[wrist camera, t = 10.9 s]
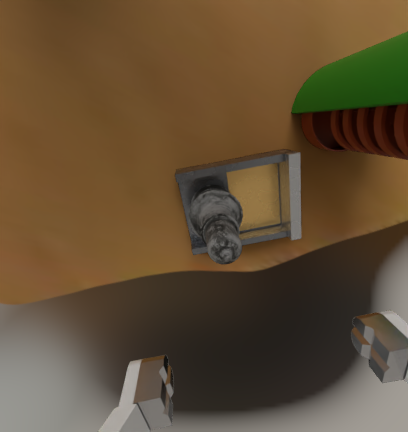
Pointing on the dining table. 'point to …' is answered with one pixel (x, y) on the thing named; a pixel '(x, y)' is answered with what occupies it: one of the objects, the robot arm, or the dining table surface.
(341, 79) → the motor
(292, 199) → the grey open frame
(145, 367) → the robot arm
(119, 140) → the dining table surface
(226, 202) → the grey tall turned piece
